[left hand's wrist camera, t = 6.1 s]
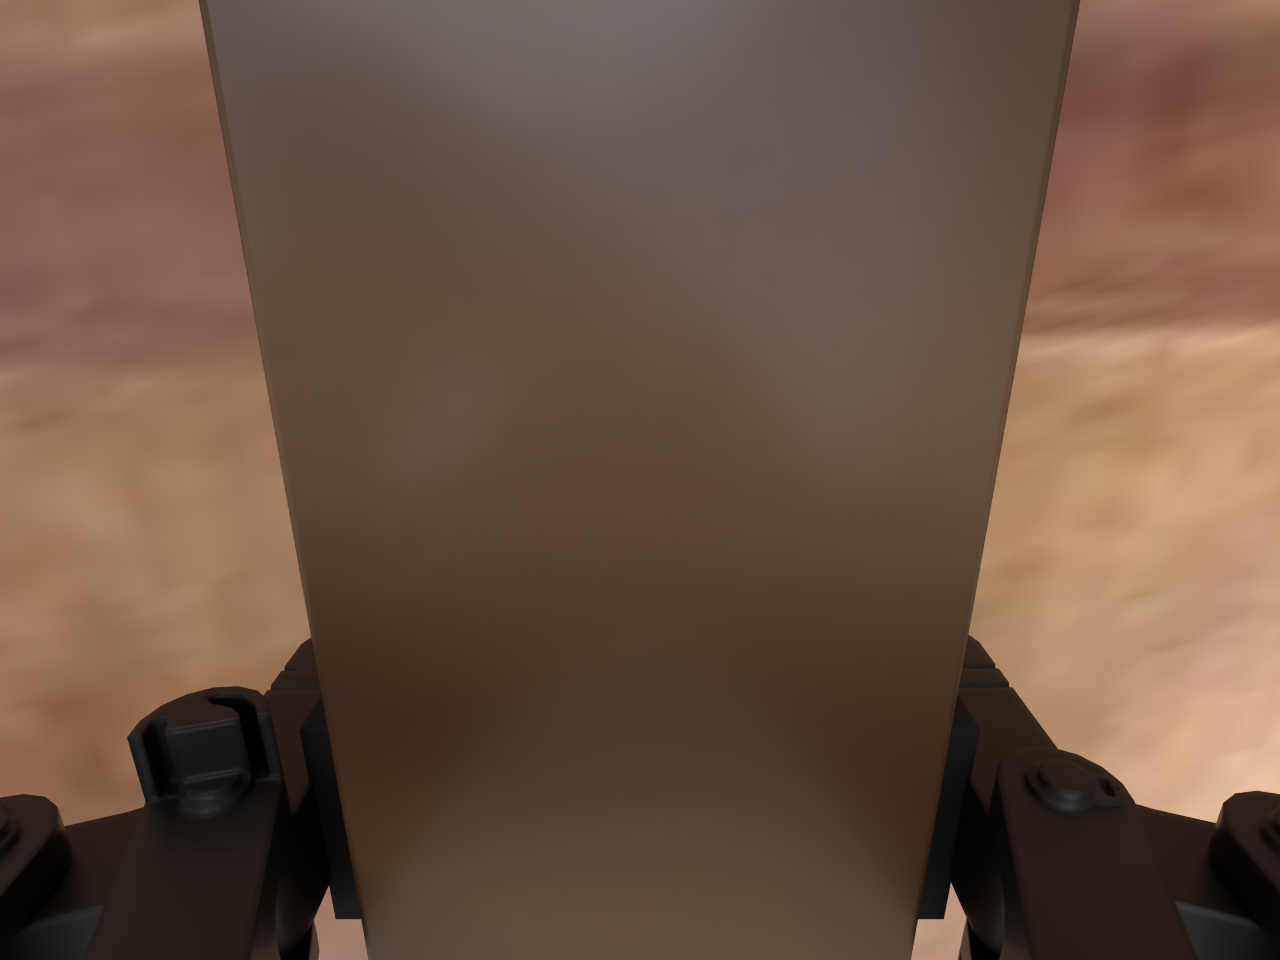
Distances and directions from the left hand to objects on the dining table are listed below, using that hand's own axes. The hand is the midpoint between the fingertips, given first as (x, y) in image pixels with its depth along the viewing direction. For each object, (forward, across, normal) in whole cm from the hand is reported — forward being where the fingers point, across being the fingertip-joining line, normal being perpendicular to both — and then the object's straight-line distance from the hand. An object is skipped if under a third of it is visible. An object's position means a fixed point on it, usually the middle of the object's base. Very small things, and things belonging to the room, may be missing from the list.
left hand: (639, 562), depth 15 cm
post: (+1, 0, -30) cm, 30 cm away
